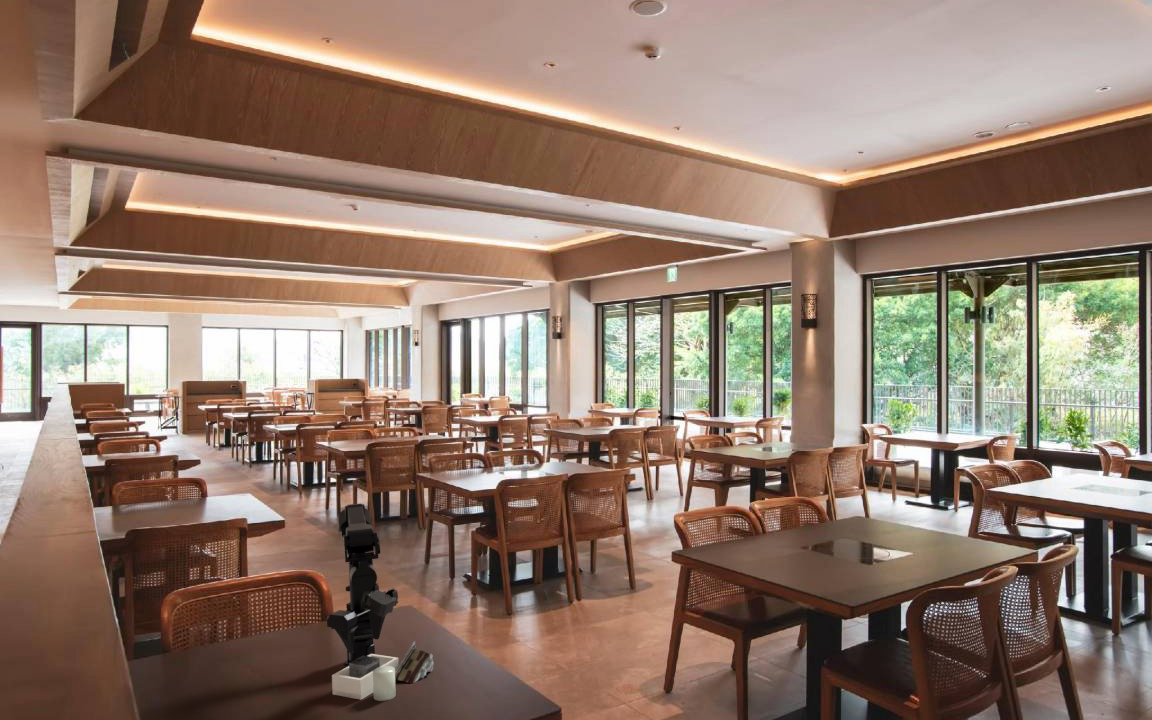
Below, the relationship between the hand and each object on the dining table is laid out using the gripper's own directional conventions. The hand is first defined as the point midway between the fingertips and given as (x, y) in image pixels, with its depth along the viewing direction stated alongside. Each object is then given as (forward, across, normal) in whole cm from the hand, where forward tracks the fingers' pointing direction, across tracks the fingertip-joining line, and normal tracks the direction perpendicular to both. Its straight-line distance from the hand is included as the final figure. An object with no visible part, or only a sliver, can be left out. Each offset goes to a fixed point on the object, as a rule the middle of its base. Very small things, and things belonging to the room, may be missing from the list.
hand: (364, 645), depth 180 cm
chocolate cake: (+10, +9, -8) cm, 16 cm away
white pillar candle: (+10, -3, -8) cm, 13 cm away
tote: (+10, +1, 0) cm, 10 cm away
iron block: (+9, 0, 0) cm, 9 cm away
